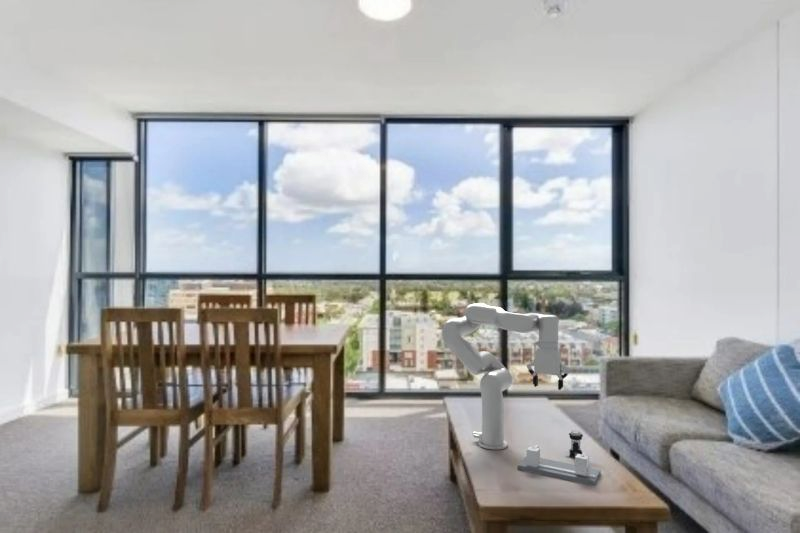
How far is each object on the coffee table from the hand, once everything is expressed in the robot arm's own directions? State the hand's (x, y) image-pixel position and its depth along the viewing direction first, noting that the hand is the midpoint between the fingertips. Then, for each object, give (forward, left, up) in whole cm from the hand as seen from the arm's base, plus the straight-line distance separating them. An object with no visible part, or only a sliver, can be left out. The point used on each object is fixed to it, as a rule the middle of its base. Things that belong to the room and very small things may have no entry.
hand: (547, 387), depth 209 cm
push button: (+9, +7, -28) cm, 31 cm away
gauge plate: (+8, -12, -28) cm, 32 cm away
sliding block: (+16, -13, -26) cm, 34 cm away
